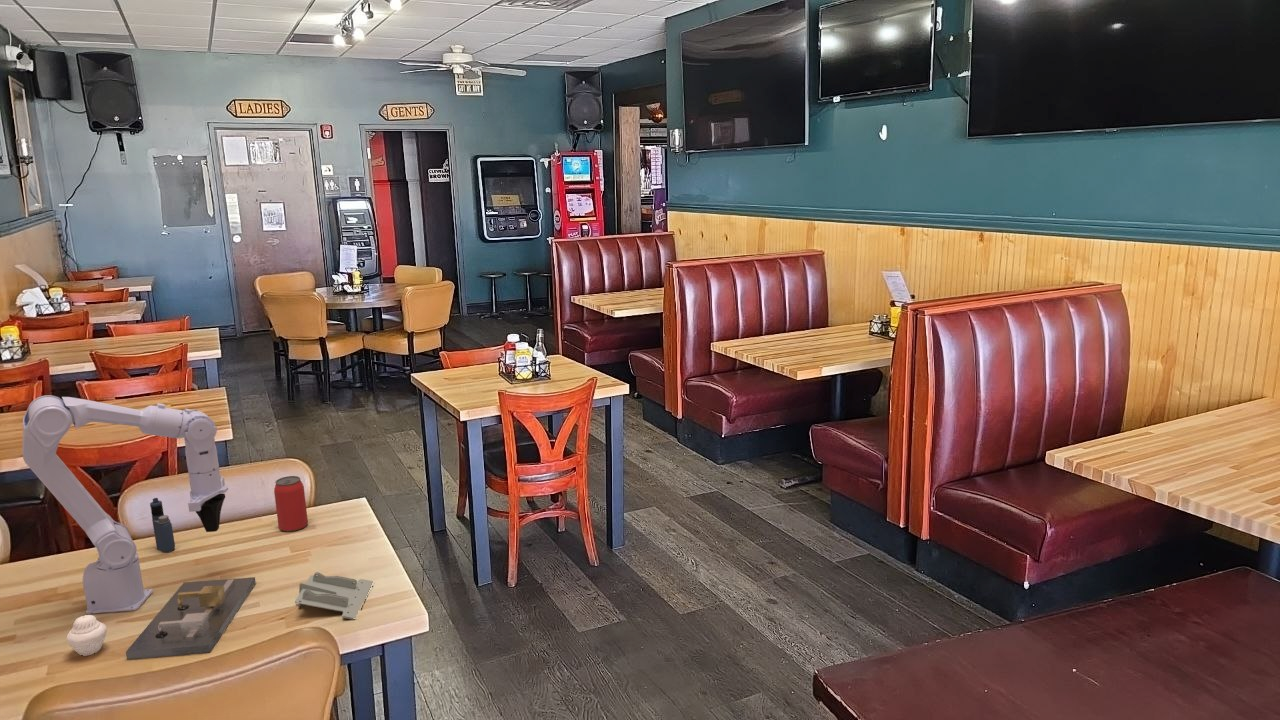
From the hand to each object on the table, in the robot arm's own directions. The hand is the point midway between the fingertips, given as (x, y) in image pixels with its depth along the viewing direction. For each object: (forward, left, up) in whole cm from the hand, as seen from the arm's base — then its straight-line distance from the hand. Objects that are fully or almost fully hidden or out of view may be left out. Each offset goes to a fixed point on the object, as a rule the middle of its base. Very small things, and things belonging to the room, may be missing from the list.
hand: (212, 530), depth 179 cm
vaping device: (-17, +16, -11) cm, 26 cm away
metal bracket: (+27, -16, -11) cm, 33 cm away
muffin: (-13, -27, -11) cm, 32 cm away
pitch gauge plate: (+2, -18, -10) cm, 21 cm away
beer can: (+9, +24, -11) cm, 28 cm away
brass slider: (+3, -17, -8) cm, 19 cm away
